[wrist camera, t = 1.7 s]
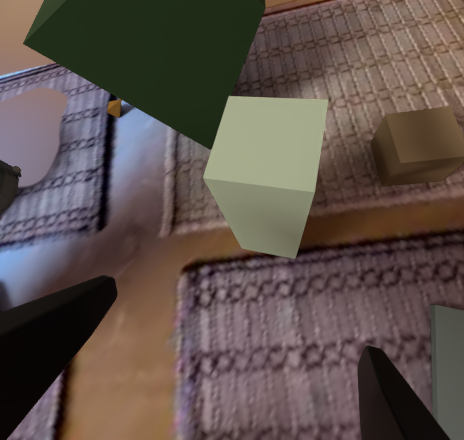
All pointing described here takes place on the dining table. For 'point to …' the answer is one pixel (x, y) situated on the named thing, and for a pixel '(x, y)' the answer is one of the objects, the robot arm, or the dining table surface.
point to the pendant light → (154, 53)
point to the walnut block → (418, 146)
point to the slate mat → (448, 369)
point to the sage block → (267, 169)
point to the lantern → (8, 184)
